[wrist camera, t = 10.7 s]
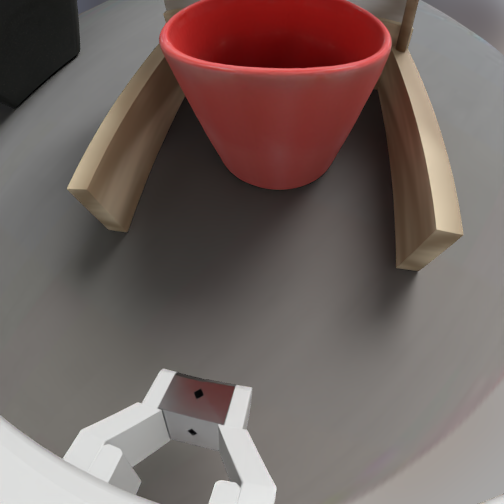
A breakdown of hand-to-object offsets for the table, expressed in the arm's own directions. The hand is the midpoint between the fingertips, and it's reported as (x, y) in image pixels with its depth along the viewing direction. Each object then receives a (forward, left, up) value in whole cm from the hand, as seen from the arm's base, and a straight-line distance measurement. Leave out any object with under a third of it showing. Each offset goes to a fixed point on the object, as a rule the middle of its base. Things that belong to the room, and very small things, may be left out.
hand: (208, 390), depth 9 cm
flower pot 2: (0, +15, -5) cm, 16 cm away
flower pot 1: (-38, +31, -5) cm, 49 cm away
